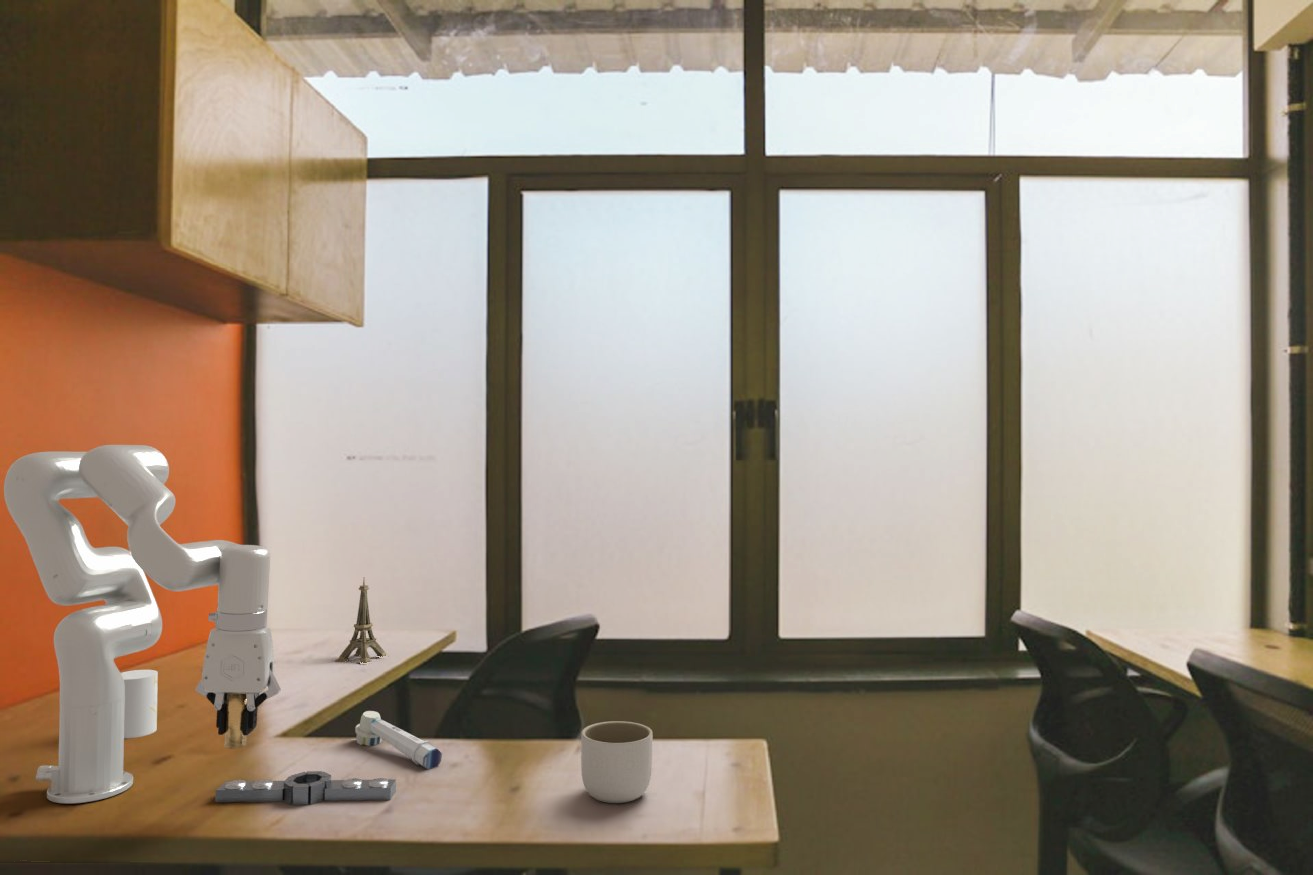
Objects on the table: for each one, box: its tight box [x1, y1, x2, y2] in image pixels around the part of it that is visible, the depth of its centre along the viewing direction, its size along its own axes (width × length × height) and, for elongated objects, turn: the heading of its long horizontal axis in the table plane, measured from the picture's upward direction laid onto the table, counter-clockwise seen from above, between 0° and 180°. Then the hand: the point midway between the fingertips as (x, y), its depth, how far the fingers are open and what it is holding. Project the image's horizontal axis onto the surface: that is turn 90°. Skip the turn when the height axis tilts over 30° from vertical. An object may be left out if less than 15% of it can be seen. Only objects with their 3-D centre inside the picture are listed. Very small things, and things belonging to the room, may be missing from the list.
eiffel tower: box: [334, 578, 387, 663], centre depth 250 cm, size 11×11×25 cm
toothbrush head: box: [354, 710, 443, 770], centre depth 174 cm, size 5×7×25 cm
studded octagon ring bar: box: [214, 770, 397, 806], centre depth 151 cm, size 29×7×3 cm, turn 94°
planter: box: [580, 720, 654, 804], centre depth 154 cm, size 12×12×11 cm
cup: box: [120, 669, 159, 739], centre depth 184 cm, size 8×8×12 cm
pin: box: [224, 693, 248, 750], centre depth 145 cm, size 3×3×9 cm
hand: (236, 731), depth 145 cm, fingers closed on pin, 3 cm apart
